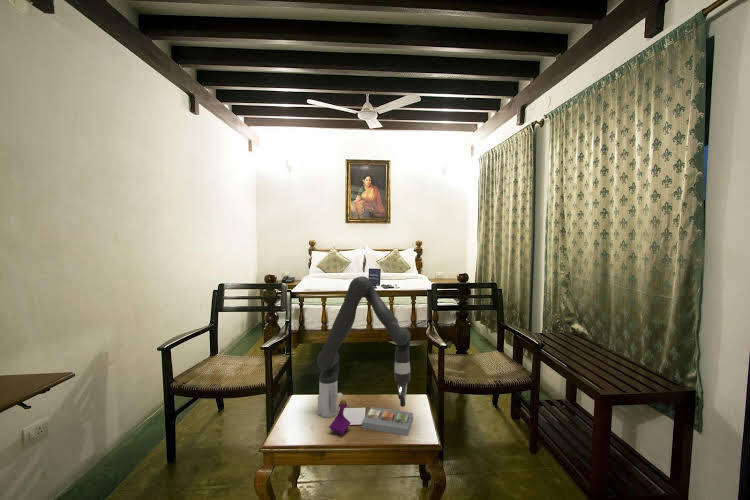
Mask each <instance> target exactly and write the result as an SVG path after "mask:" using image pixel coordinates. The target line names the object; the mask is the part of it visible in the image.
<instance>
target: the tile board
mask: <svg viewBox="0 0 750 500" xmlns="http://www.w3.org/2000/svg"><path fill="white" fill-rule="evenodd" d="M371 409H374V410H380V411H381V415H380V417H379V419H374V418H368V413H369V412H370V410H371ZM384 411H387V412H394V418H393V421H387V420H382V415H383V413H384ZM398 413H401V414H408V421H407V423H401V422H396V417H397V415H398ZM413 420H414V412H411V411H410V412H409V411H401V410H397V409H395V410H394V409H390V408H389V409H388V408H382V407H376V406H374V407H373V406H370V408H369V409H368V411H367V413H366V414H365V416H364V418H363V420H362V421H361V429H362V430H363V429H364V430H371V431H377V432H384V433H388V434H390V433H391V434H396V435H402V436H407V437H408V435H409V433H410V430H411V426H412V423H413Z"/></svg>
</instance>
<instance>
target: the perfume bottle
mask: <svg viewBox="0 0 750 500" xmlns="http://www.w3.org/2000/svg"><path fill="white" fill-rule="evenodd" d="M336 397H337V398H338V397H339V398H341V400H340V401H339V404H338V407H339V411H338V412H337V414H336V416H335V418H334V420H333V421H332V422H331V424H330V425H329V427H328V428H329V429H330V430H331V431H332V432H333V434H336V435H340V436H342V435H344V434H345V432H347V430H348V428H349V427H350V425H351V424H352V423H351V421H350V420H349V419H347V417H345V416H344V411H345V409H346V408H347V407H348V403H347V400H345V399H344V394H343V393H342V392H337V395H336Z"/></svg>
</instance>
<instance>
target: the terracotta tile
mask: <svg viewBox="0 0 750 500" xmlns="http://www.w3.org/2000/svg"><path fill="white" fill-rule="evenodd" d="M393 418H394V412H387V411H384V413H383V415H382V420H387V421H393Z"/></svg>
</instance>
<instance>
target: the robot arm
mask: <svg viewBox="0 0 750 500" xmlns="http://www.w3.org/2000/svg"><path fill="white" fill-rule="evenodd" d="M363 298H365V299H366V300H367V302H368V303H369V304H370V306H371V308H372V311H373V312H374V314H375V316H376V318H377V319H378V321H379V322H380V323H381V324H382V325H383V326H384V328H385V329H386V330H387V332H388V335H389V336H390V338H391V339H392V341H393V342H394V343H395V344H396V348H395V351H394V381H395V382H397V383H398V384H397V389H398V391H397V392H396V393H397V396H398V400H399V402H400V405H399V406H400V407H402V408H404V407H405V406H406V396H407V391H408V390H407V389H408V383H409V382H410V381H411V364H410V348H411V347H410V346H411V332H410V331H409V329H408V328H407V327H401V326H400V324H399V321H398V319H397V316H395V315H394V313H393V312H392V311H391V309H389V308H388V305H386V304H385V302H384V301H383V300H382V298H381V296H380V295H379V294H378V292H377V290H376V289H375V287H374V285H373V283H372V282H371V279H369V278H368V277H367V276H364V275H363V276H359V277H358V276H357V277H355V278H353V279H352V280H351V281H350V282H349V286H348V289H347V292H346V295H345V298H344V301H343V302H342V304H341V307H340V308H339V310H338V313H337V315H336V317H335V319H334V321H333V324H332V326H331V328H330V331H329V332H328V336H327V338H326V341H325V343H324V345H323V346H322V348H321V350H320V352H319V353H318V356H317V358H316V364H317V366H318V368H319V369H320V370H321V371H320V374H319V376H318V377H319V381H318V382H319V387H318V388H319V394H318V396H317V415H318V416H320V417H323V418H333V417H336V416H337V415H338V395H337V394H338V376H339V373H340V354H339V352H338V350H339V348H340V347H341V345H342V344H343V342H344V341H345V340H346V338H347V337H348V335H349V333H350V331H351V330H352V328H353V325H354V323H355V320H356V315H357V314H356V313H357V308H358V306H359V304H360V303H361V300H362V299H363ZM336 395H337V397H336Z"/></svg>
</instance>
